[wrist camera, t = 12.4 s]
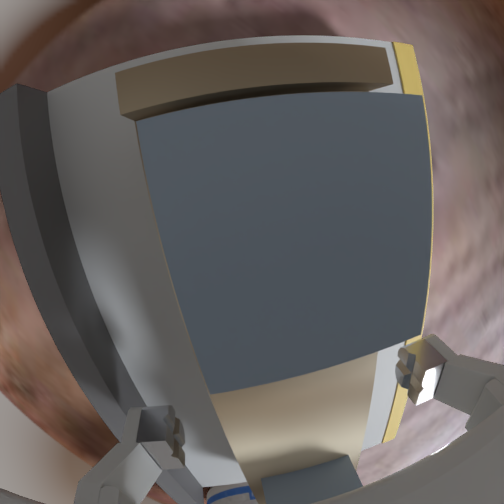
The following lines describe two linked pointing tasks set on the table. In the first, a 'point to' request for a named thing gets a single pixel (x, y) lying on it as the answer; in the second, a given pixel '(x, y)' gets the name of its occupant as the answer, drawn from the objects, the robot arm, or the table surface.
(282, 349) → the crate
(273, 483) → the block
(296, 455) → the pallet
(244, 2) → the table surface
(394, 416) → the dock
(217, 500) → the supplement tub
